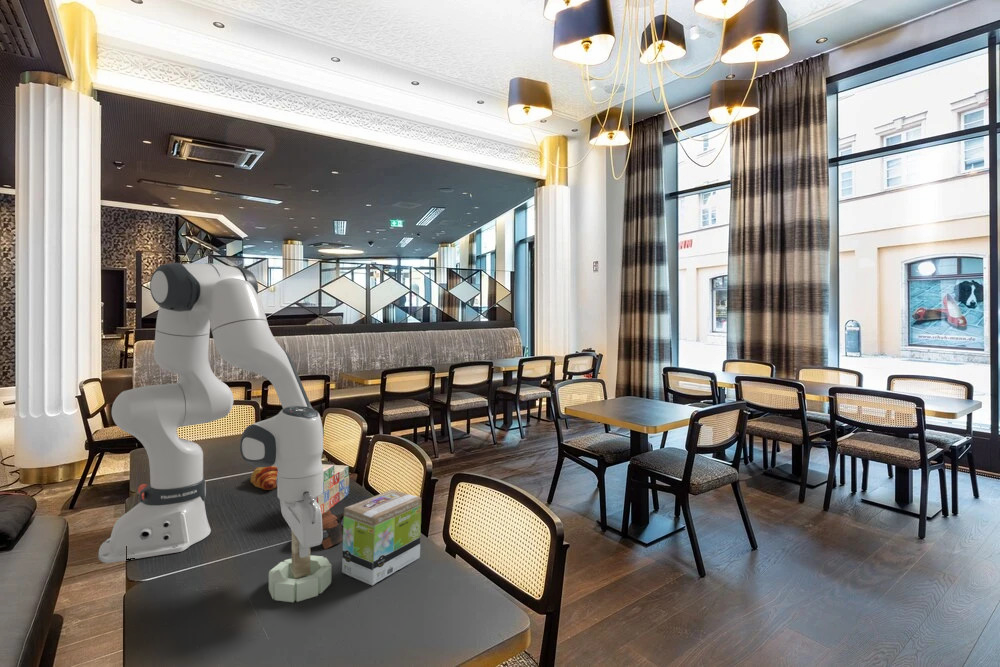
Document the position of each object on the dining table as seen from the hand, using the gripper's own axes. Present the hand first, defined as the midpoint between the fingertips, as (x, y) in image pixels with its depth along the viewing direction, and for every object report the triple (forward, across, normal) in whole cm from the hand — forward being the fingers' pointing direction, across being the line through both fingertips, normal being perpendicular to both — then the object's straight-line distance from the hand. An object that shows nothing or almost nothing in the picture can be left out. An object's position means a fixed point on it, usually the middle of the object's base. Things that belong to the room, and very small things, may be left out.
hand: (300, 551), depth 101 cm
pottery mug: (+8, +18, -11) cm, 23 cm away
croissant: (+7, +72, -6) cm, 72 cm away
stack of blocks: (+7, +41, -16) cm, 45 cm away
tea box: (+8, -2, -17) cm, 19 cm away
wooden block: (+5, 0, 0) cm, 5 cm away
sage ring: (+7, 0, 0) cm, 7 cm away
